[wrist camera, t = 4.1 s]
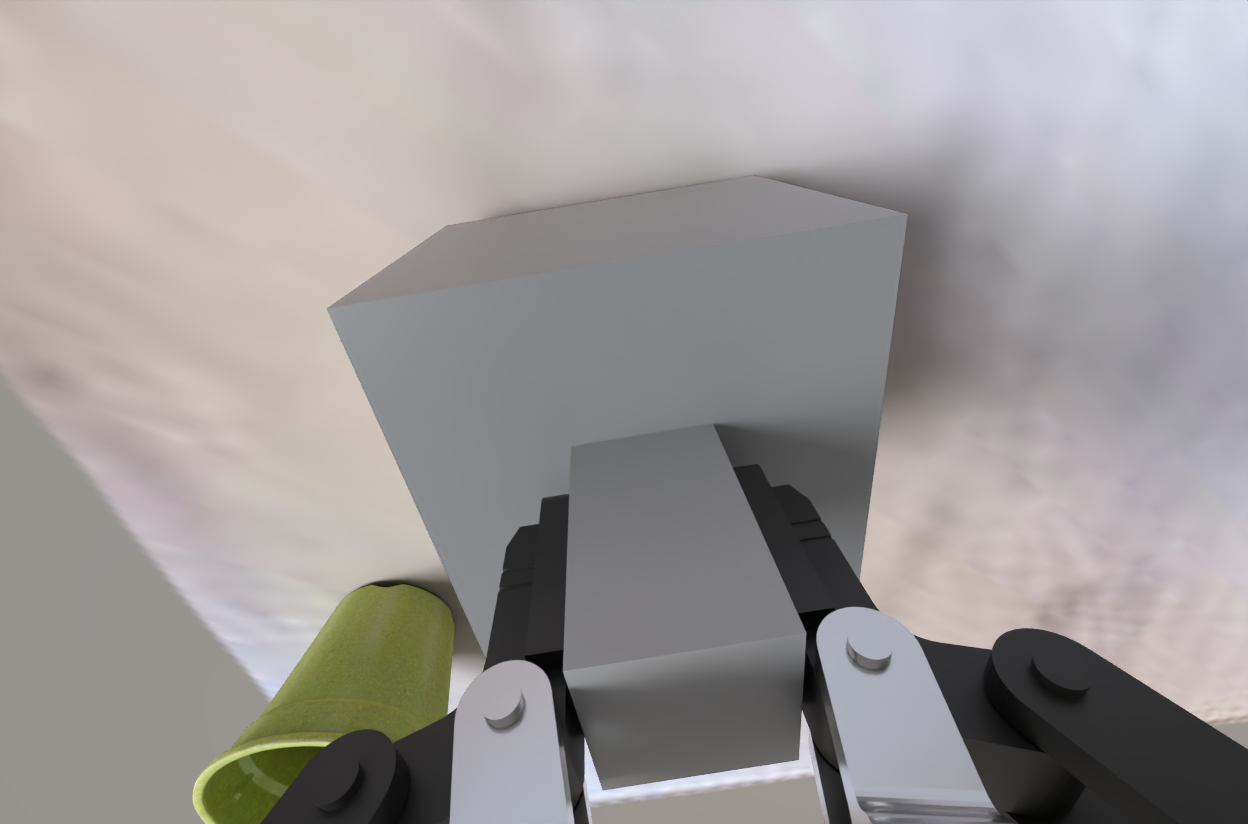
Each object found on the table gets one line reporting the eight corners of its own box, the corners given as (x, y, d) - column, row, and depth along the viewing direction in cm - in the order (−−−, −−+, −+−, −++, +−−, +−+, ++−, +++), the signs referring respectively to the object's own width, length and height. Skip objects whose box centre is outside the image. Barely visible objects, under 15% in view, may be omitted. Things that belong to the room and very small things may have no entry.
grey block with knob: (754, 175, 16) (1239, 298, 4) (757, 436, 21) (983, 829, 9) (446, 225, 16) (68, 485, 4) (521, 473, 21) (444, 912, 9)
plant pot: (523, 613, 27) (501, 795, 20) (421, 694, 30) (367, 881, 23) (370, 526, 24) (272, 709, 16) (270, 627, 26) (146, 825, 19)
